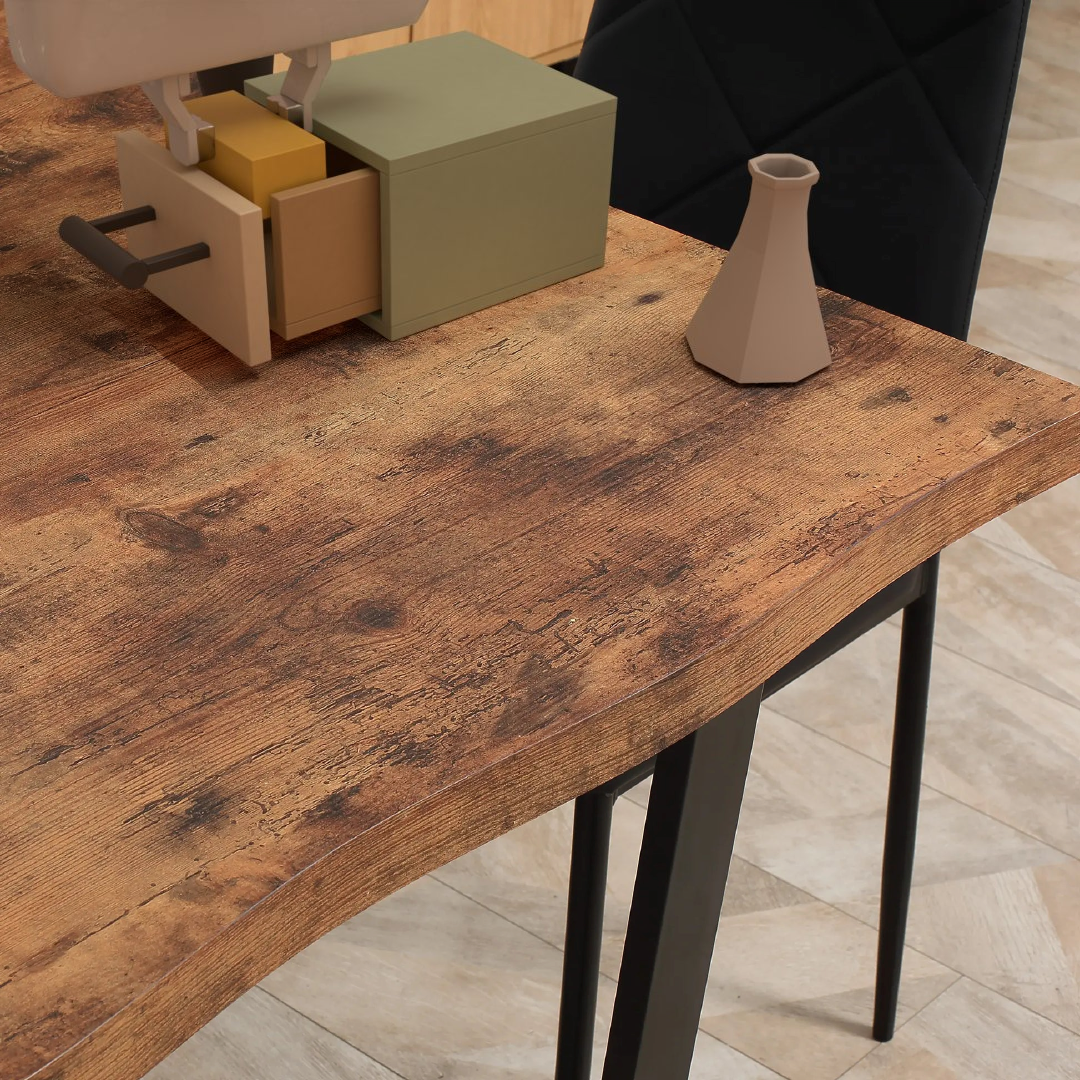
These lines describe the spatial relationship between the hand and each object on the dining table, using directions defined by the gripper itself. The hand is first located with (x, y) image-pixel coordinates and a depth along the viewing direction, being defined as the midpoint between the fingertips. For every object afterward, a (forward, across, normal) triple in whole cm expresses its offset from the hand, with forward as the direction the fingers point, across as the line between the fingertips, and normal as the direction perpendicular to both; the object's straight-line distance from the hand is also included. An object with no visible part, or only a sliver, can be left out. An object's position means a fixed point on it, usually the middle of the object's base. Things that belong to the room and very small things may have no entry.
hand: (242, 147), depth 74 cm
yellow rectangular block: (+2, 0, 0) cm, 2 cm away
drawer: (+8, -1, 0) cm, 8 cm away
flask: (+9, -18, +18) cm, 27 cm away
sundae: (+9, -9, -16) cm, 21 cm away
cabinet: (+9, -11, 0) cm, 14 cm away
